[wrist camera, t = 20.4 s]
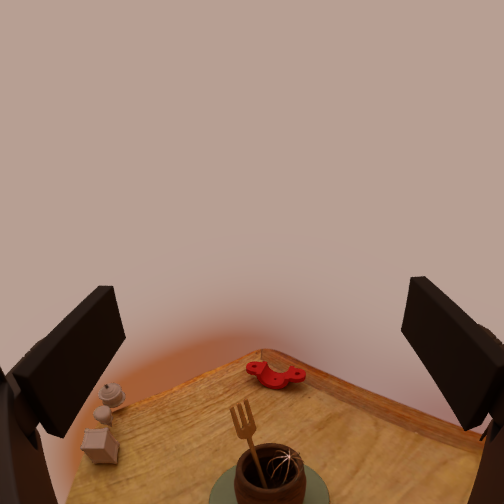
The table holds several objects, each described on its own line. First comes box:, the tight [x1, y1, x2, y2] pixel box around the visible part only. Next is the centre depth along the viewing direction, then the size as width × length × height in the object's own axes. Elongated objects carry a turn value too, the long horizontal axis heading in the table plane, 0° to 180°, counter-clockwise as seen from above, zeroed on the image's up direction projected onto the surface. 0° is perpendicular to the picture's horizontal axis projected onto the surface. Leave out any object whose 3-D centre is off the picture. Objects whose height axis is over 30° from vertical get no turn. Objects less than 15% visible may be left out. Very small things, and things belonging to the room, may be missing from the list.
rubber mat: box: [209, 465, 329, 504], centre depth 21 cm, size 11×11×1 cm
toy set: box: [80, 383, 125, 464], centre depth 29 cm, size 12×3×4 cm, turn 11°
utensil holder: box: [230, 399, 307, 504], centre depth 19 cm, size 6×6×12 cm
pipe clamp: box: [246, 361, 306, 389], centre depth 38 cm, size 8×3×2 cm, turn 70°
